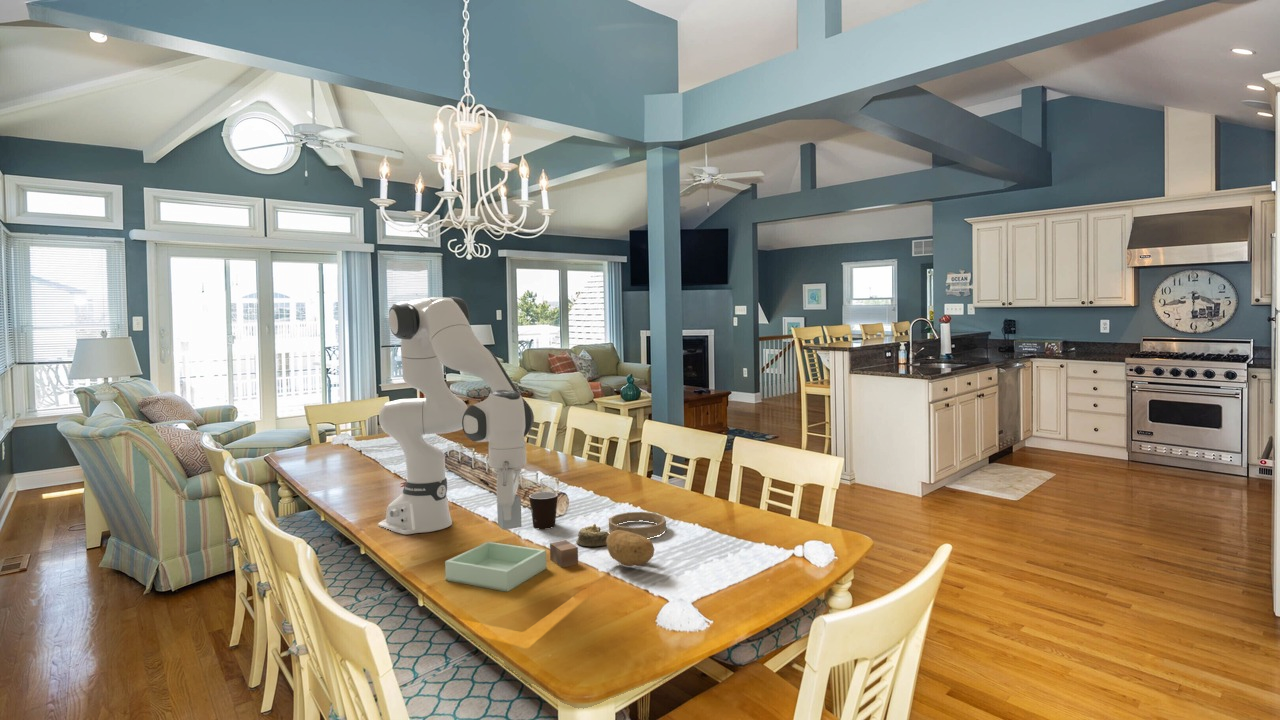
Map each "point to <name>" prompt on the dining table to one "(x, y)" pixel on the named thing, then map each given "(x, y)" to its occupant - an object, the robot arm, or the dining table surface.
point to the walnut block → (563, 553)
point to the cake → (592, 536)
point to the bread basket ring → (637, 516)
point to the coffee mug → (543, 509)
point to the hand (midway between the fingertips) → (508, 515)
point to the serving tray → (496, 566)
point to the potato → (629, 548)
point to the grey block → (516, 515)
